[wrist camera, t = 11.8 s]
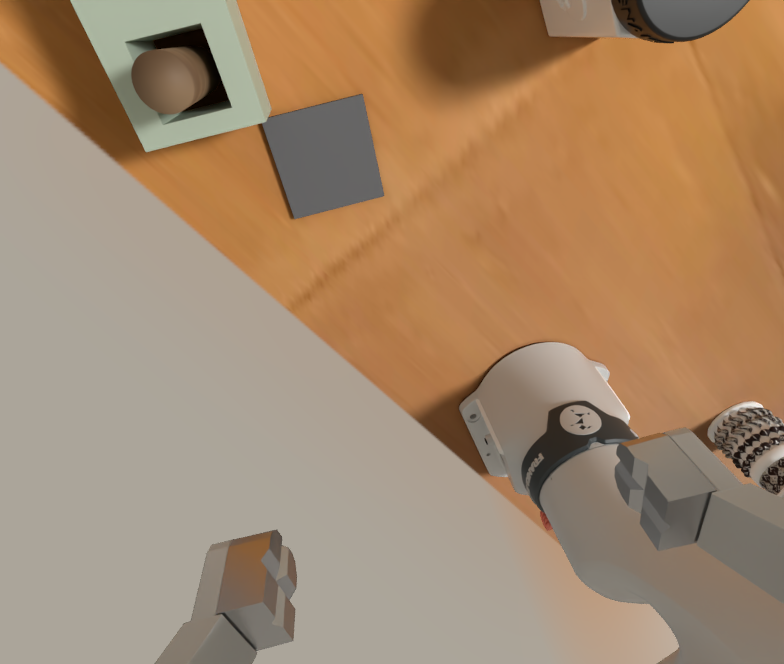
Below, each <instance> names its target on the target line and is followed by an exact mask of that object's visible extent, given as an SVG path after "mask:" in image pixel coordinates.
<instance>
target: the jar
mask: <svg viewBox="0 0 784 664" xmlns="http://www.w3.org/2000/svg"><path fill="white" fill-rule="evenodd" d="M539 1H540V4H541V8H542V12H543V16H544V20H545V24H546V28H547V31H548V35H549V36H551V37H576V38H604V39H643V40H647V41H651V42H653V41H654V42H656V43H674V42H685V41H692V40H695V39H699V38H702V37H704V36H706V35H709V34H711V33H712V32H714V31H716V30H717V29H719V28H721V27H722V26H723V25H725V24H726V23H727V22H729V21H730V20H731V19H732V18H733V17H734V16H735V15H736V14H737V13H738V12H739V11H740V10H742V8H743V7H744V6H745V5H746V4H747V3H748V2H749V0H539Z"/></svg>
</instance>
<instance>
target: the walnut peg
mask: <svg viewBox="0 0 784 664" xmlns="http://www.w3.org/2000/svg"><path fill="white" fill-rule="evenodd" d="M131 78H132V83H133V86H134V89H135V91H136V93H137V95H138V96H139V98H140V99H141V100H142V101H143V102H144V103H145V104H146V105H147V106H148V107H150V108H151V109H153V110H155V111H157V112H159V113H162V114H177V113H180V112H182V111H183V110H185V109H186V108H188V107H190V106H191V105H193V104H194V103H196V102H197V101H199V100H200V99H202V98H204V97H205V96H207V95H208V94H210V93H211V92H213V91H214V90H216V89H217V87H218V86H219V84H220V81H221V76H220V73H219V71H218V68H217V65H216V63H215V60H214V57H213V55H212V53H211V52H210V51H209V50H207V49H206V48H204V47H201V46H197V45H191V46H183V47H174V48H166V49H157V50H150V51H146V52H144V53H142V54H140V55H139V56H138V57H137V58H136V60H135V61H134V63H133V66H132V71H131Z"/></svg>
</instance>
